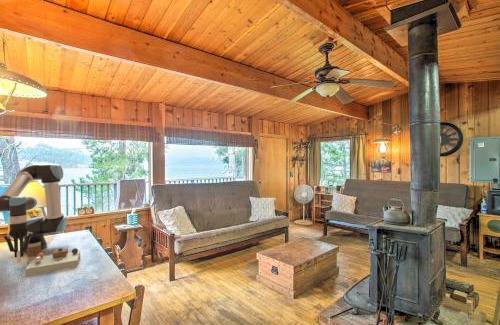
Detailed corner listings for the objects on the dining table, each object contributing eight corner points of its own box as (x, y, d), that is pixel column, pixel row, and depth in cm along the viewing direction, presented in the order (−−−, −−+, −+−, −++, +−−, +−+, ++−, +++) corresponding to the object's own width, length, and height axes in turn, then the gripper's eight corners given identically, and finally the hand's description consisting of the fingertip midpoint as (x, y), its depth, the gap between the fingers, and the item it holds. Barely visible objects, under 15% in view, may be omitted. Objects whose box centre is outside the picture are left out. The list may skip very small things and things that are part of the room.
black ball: (72, 253, 173) (71, 248, 173) (78, 252, 175) (78, 247, 175) (71, 254, 170) (71, 249, 170) (77, 253, 172) (77, 248, 172)
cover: (54, 254, 171) (54, 248, 171) (67, 252, 175) (67, 246, 175) (52, 257, 165) (52, 251, 165) (66, 255, 169) (66, 249, 169)
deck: (33, 264, 166) (33, 257, 166) (80, 256, 178) (80, 250, 178) (25, 276, 149) (24, 269, 149) (77, 266, 161) (77, 260, 161)
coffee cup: (32, 263, 168) (32, 240, 168) (22, 262, 169) (21, 239, 169) (45, 258, 176) (44, 236, 176) (35, 257, 178) (34, 236, 178)
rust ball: (37, 257, 166) (37, 252, 166) (44, 256, 168) (44, 251, 168) (36, 259, 163) (36, 254, 163) (43, 258, 165) (43, 253, 165)
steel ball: (35, 262, 159) (35, 256, 159) (42, 261, 160) (42, 255, 160) (33, 264, 156) (33, 258, 156) (41, 263, 157) (41, 257, 157)
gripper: (1, 225, 147) (2, 266, 147) (30, 222, 153) (31, 262, 153) (6, 222, 154) (6, 262, 154) (34, 220, 160) (34, 258, 160)
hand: (19, 262), depth 154 cm, fingers closed
